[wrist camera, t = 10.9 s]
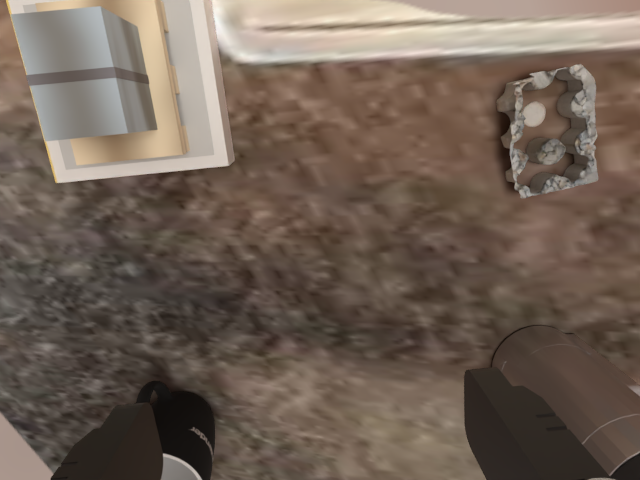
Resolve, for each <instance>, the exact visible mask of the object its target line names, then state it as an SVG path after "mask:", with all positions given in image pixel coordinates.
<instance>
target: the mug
mask: <svg viewBox="0 0 640 480" xmlns="http://www.w3.org/2000/svg"><path fill="white" fill-rule="evenodd" d="M153 390H155V392H156V393H157V395H158V400H157V401H155V402H154V403H153V404H152V405H151V407H152V409H153V413H154V417H155V422H156V426H157V430H158V434H159V439H160V443H161V447H162V452H163V472H162V476H161V480H210V477H211V471H212V464H213V455H214V445H215V424H214V418H213V414H212V412H211V409H210V407H209V406H208V404H207V403H206V402H205V401H204V400H203V399H202V398H200V397H198V396H197V395H194V394H192V393H188V392H174V393H171V392H170V391H169V389H168V388H167V387H166V385H165V384H163V383H162V382H160V381H152V382H149V383H147V384H146V385H145V386H144V387H143V388H142V389H141V391H140V393H139V395H138V398H137V402H136V403H146V402H148V403H149V402H150V398H151V394H152V392H153Z"/></svg>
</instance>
